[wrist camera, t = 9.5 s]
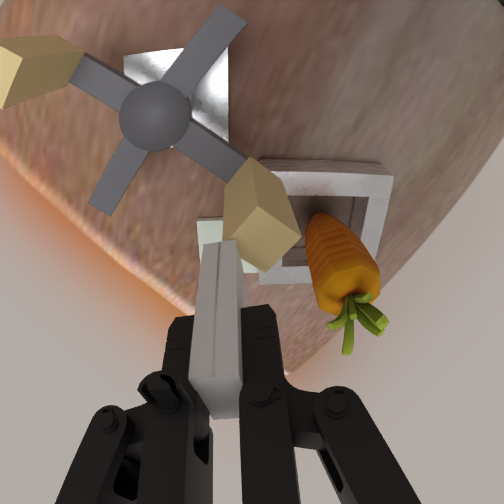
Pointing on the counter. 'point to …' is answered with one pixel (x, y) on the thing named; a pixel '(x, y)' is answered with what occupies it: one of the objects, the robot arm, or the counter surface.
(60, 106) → the counter surface
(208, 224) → the pad
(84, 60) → the handwheel
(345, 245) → the carrot
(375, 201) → the gray square frame
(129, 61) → the square base pedestal
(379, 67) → the counter surface
